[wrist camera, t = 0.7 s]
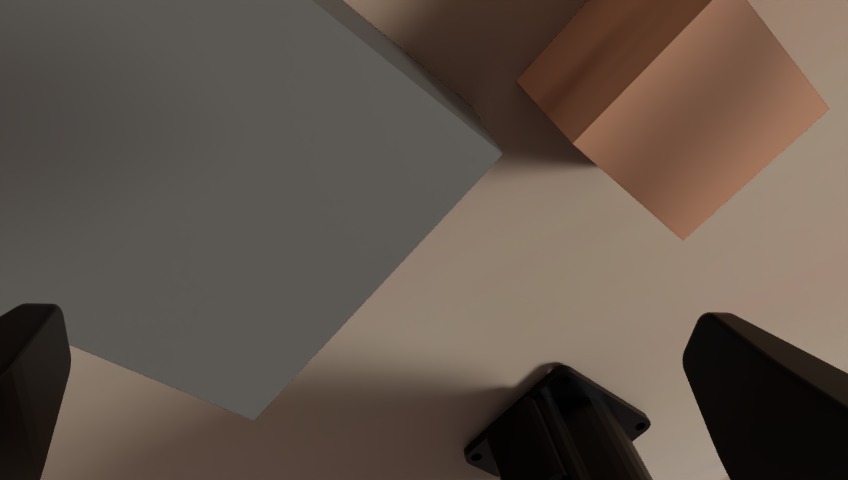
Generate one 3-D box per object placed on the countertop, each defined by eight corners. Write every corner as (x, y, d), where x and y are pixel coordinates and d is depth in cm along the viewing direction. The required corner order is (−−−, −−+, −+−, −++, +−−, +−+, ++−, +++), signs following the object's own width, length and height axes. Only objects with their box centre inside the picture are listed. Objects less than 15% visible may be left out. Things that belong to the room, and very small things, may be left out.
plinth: (473, 108, 20) (502, 154, 17) (258, 349, 24) (253, 420, 21) (107, -195, 15) (61, -202, 12) (-98, 180, 18) (-172, 245, 16)
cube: (723, 54, 21) (829, 108, 17) (610, 165, 22) (682, 240, 18) (633, -52, 19) (731, -21, 14) (515, 79, 20) (572, 143, 16)
